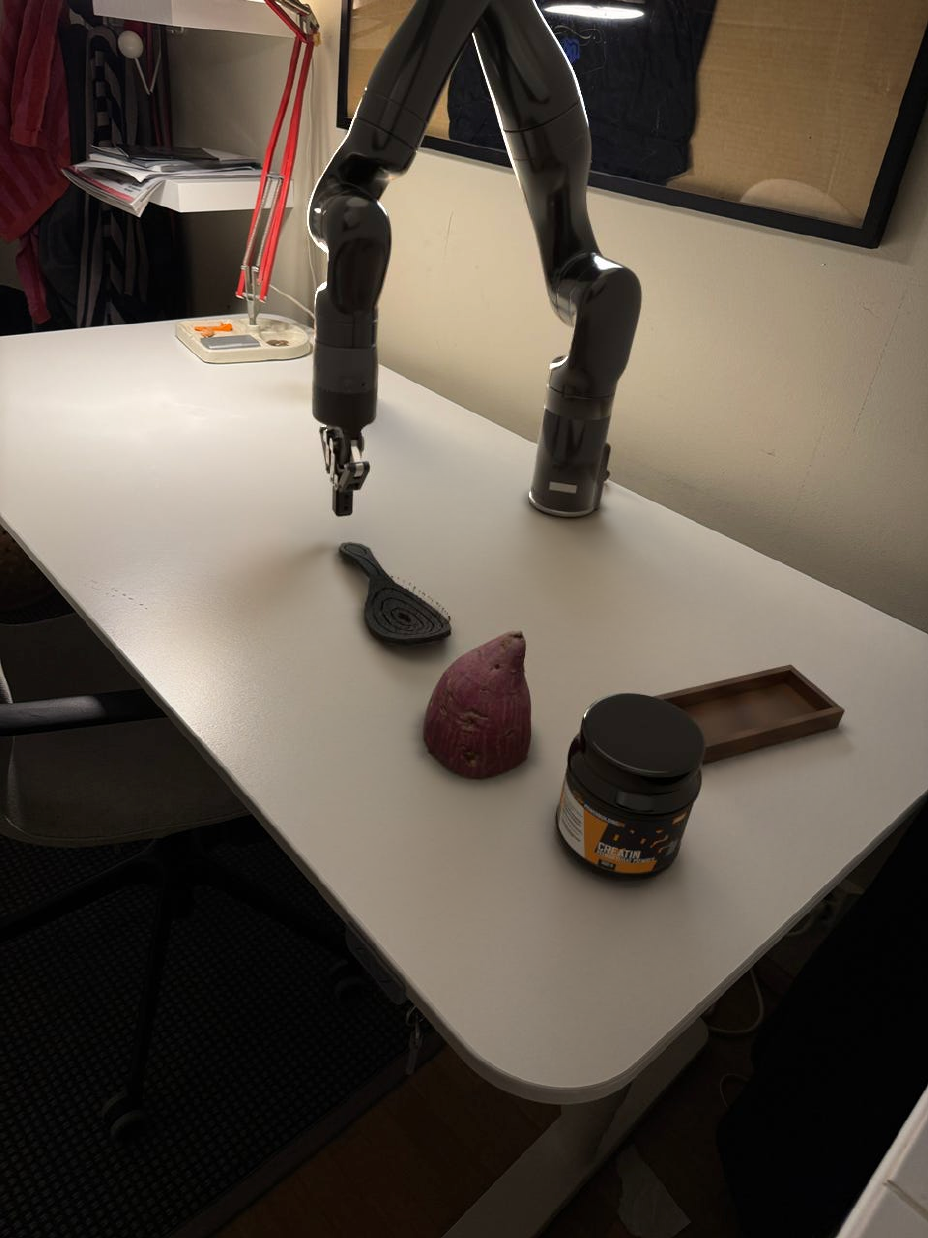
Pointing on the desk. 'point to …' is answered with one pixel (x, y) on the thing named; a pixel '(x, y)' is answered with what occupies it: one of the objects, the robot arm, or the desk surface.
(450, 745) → the vegetable
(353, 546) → the hairbrush
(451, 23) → the robot arm
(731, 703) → the pen tray
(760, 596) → the desk surface
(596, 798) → the supplement container
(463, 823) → the desk surface
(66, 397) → the desk surface
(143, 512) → the desk surface
